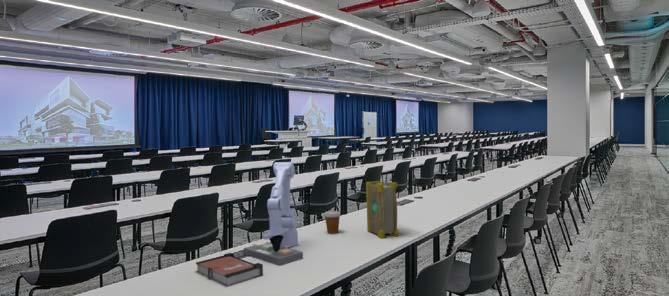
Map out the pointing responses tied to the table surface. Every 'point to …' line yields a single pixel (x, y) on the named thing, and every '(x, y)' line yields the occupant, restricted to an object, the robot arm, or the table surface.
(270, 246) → the sage key
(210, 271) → the book
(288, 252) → the terracotta key
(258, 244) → the sand key
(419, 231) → the table surface
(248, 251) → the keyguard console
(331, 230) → the disposable coffee cup
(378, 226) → the decorative book
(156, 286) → the table surface
